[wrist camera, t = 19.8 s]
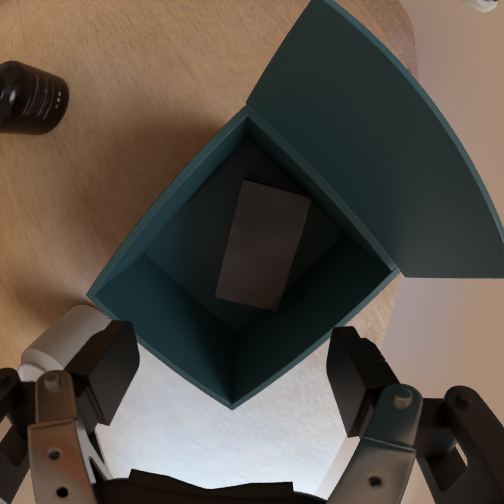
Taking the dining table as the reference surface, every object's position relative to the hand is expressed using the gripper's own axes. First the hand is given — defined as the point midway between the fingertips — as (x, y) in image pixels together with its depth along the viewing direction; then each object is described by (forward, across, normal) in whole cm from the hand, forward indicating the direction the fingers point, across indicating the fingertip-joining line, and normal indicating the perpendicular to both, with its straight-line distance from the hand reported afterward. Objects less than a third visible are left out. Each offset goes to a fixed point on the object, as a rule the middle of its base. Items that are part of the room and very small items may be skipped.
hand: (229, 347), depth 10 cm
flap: (+2, -6, -6) cm, 9 cm away
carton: (+16, 0, 0) cm, 16 cm away
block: (+13, 0, +4) cm, 14 cm away
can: (+17, +17, +11) cm, 26 cm away
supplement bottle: (+17, +21, -15) cm, 31 cm away
